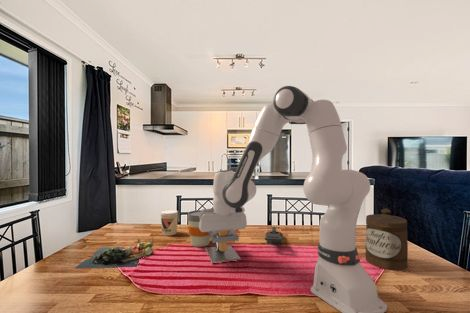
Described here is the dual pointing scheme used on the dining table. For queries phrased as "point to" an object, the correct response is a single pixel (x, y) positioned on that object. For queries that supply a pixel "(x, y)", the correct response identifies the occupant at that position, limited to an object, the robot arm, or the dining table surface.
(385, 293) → the dining table surface
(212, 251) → the grey finned stand
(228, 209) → the robot arm
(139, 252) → the plated dish
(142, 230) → the dining table surface
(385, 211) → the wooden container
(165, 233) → the coffee cup
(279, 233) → the zipper pull
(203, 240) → the reusable coffee cup
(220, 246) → the wedge pin
